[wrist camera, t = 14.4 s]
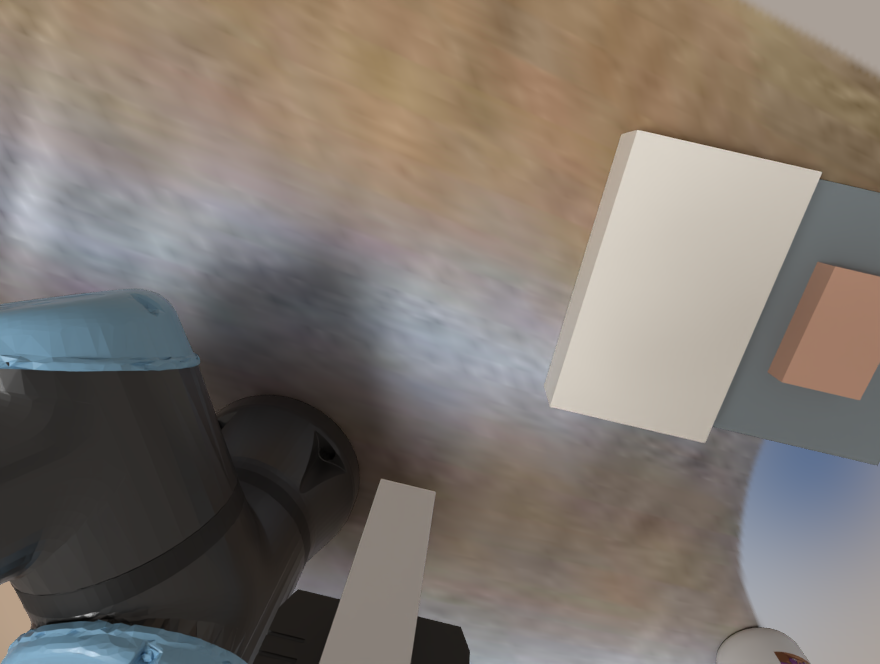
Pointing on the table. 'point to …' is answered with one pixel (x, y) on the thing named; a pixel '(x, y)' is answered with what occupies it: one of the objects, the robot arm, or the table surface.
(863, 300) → the tile
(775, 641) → the milk bottle
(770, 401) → the mat
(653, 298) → the plate
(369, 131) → the table surface
